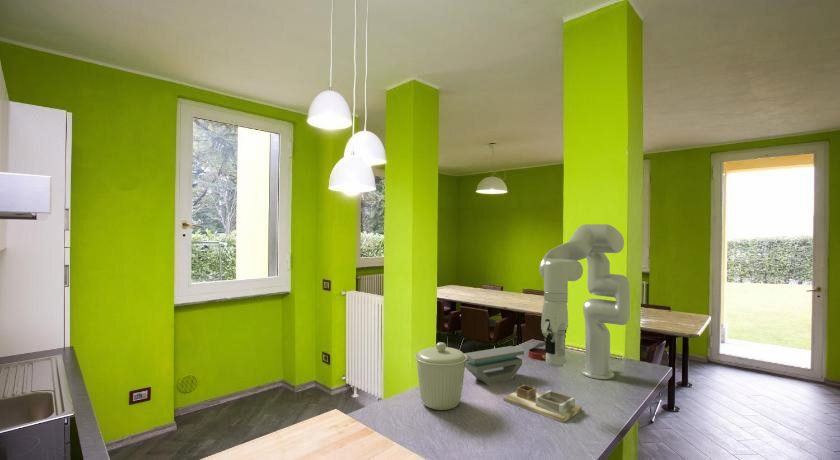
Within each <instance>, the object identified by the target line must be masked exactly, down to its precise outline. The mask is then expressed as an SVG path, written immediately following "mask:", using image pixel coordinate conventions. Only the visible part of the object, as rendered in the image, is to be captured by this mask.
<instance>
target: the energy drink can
mask: <svg viewBox="0 0 840 460" xmlns="http://www.w3.org/2000/svg"><path fill="white" fill-rule="evenodd" d="M548 331H550V332H552V330H548ZM550 336H552V334H550ZM554 342H555V354H549V353H546V360H545V362H546V363H547V365H548V366H550V367H553V368H562V367H564V365H565V363H566V338H565V324H564V323H563V321H562V323H561V324H560V326H559V329H558V332H557V333H555V338H554Z"/></svg>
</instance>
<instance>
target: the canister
mask: <svg viewBox="0 0 840 460" xmlns="http://www.w3.org/2000/svg"><path fill="white" fill-rule="evenodd" d="M414 359H415V360H416V364H417V365H416V366H417V375H418V376H417V379H418V386H419V393H420V399H421V402H422V403H423V404H424V406H425V407H427V408H430V409H432V410H435V411H436V410H437V411H448V410H451V409H454V408H456V407H457V406H458V405H459V403H460V401H461V399H462V393H463V392H462V391H463V386H464V378H465V376H464V375H465V368H466V367H465V362H466V361H468V360H467V355H466V354H464V352H463V351H461V350H459V349H457V348H453V347H448V346H447V344H446V343H445V342H441V341H440V342H437V343H436V344H435V346H430V347H426V348H423V349H420V351H418V352H416V353H415V354H414Z"/></svg>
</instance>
